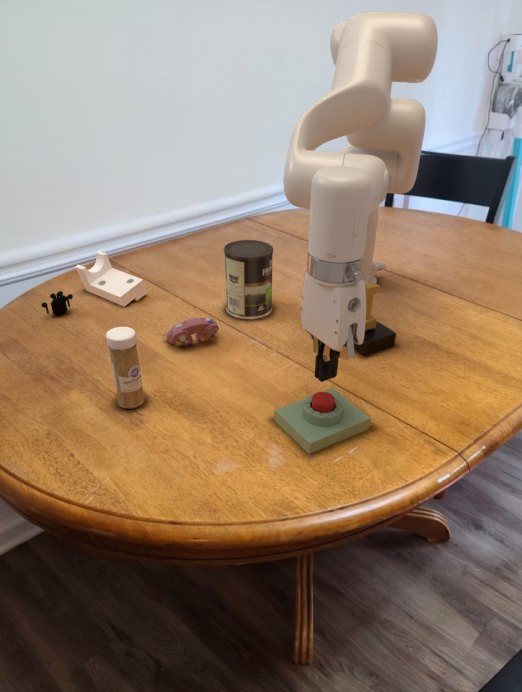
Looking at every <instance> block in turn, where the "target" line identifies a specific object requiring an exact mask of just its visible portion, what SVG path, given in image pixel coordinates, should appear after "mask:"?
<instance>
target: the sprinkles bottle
mask: <svg viewBox="0 0 522 692" xmlns="http://www.w3.org/2000/svg"><path fill="white" fill-rule="evenodd" d="M105 338H106V345H107V347H108V350H109V356H110V364H111V371H112V376H113V380H114V386H115V387H114V388H115V390H116V395H117V403H118V406H119V407H121V408H123V409H127V410H128V409H137V408H139V407H140V406H142V405H143V404H144V403H145V400H146V399H145V395H144V388H143V378H142V371H141V366H140V360H139V354H138V347H137V343H138V340H137V339H138V338H137V333H136V330H135V329H133V328H132V327H130V326H117V327H113V328H110V329H108V331H107V332H106V333H105Z"/></svg>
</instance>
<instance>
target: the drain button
mask: <svg viewBox="0 0 522 692" xmlns="http://www.w3.org/2000/svg"><path fill="white" fill-rule="evenodd" d="M312 395H313V394H312ZM334 404H335V397H334V396H333V395H332V394H330V393H328V392H324V391H318V392H315V393H314V395H313V397H312V409H313V410H314V411H317V412H320V413H329V412H332V411H333V409H334Z"/></svg>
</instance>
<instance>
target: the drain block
mask: <svg viewBox="0 0 522 692" xmlns="http://www.w3.org/2000/svg"><path fill="white" fill-rule="evenodd" d="M323 392H328V393H330V394H332V395H333V396H334V397H335V404H334V409H333V411H332V412H329V413H320V412H317V411H314V410H313V409H312V397H313V395H314V394H315V393H314V394H311V395H308V396H305V398H303V399H300V400H297V401H295V402H291V403H288V404H287V405H284V406H281V407H278V408H276V409H274V416H273V417H274V418H273V419H274V422H275V423H276V424H278V425H279V427H280V428H281V429H283V430H284V432H286V433H287V434H288V435H289V436H290V437H291V438H292V439H293V440H294V441H295V443H297V444H298V445H299V446H300V447H301V448H302V449H303V450H304V451H305V452H306V453H308V454H309V455H311V454H314V453H316V452H318V451H320V450H323V449H325V448H327V447H330V446H332V445H335V444H337V443H339V442H341V441H345V440H346V439H349V438H351V437H353V436H356V435H358V434H360V433H362V432H365V431H367V430H369V429H370V425H371V419H372V418H371V417H370V416H369V415H367V414H366V413H365V412H363V410H361V409H360V408H358V407H357V406H356V405H355V404H353V403H352V402H351V401H350V400H348V399H347V398H346V397H344V395H342V394H341V393H340V392H338V391H337V390H336V389H335V388H331V389H327V390H324V391H323Z"/></svg>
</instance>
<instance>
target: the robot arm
mask: <svg viewBox="0 0 522 692" xmlns="http://www.w3.org/2000/svg"><path fill="white" fill-rule="evenodd" d="M438 37H439V35H438V29H437V25H436V23H435V20H434V19H433V18H432V17H431V16H429V15H428V14H426V13H420V12H404V11H403V12H402V11H374V10H371V11H364V12H360V13H357V14H355V15H353V16H352V17H350V18H349V19H346V20H342V21H340V22H338V23H337V24H336V25H334V27H333V29H332V31H331V33H330V37H329V39H330V40H329V47H330V55H331V59H332V62H333V64H334V66H335V67H334V73H333V77H332V78H333V79H332V83H331V90H330V91H328V92H327V93H325V94H324V95H322V97H320V98H319V99H318V100H316V101H315V102H314V103H313V104H312V105H310V107H309V108H307V110H306V111H305V112H304V113H303V114H302V115H301V116H300V117H299V119H298V121H296V124H295V125H294V127H293V130H292V133H291V136H290V140H289V146H288V150H287V155H286V159H285V165H284V170H283V182H282V184H283V192H284V195H285V198H286V200H287V201H288V203H290V204H291V205H292V206H294V207H296V208H300V209H309V221H308V222H309V223H308V225H309V226H308V240H307V241H308V245H307V259H306V260H307V262H306V263H307V264H306V271H305V274H304V278H303V284H302V292H301V299H300V300H301V302H300V324H301V326H302V327H303V328H304V330H305V331H306V333H308V334H309V337H310V338H311V340H312V343H313V345H312V346H313V347H312V349H313V353H314V354H315V360H314V361H315V363H314V374H313V375H314V378H316V379H317V380H318V381H319V382H321V383H323V382H326V381H328V380H332V379H334V378H336V377H337V376H338V370H339V369H338V368H339V359H342V360H345V361H348V360H351V359H354V358H355V356H356V355H355V350H354V343H355V344H358V345H360V344H362V343H363V340H364V334H365V322H366V292H365V283H367V282H371V281H372V282H374V283H376V284H377V281H378V279H377V277H376V275H375V274H377V273H378V272H380V271H384V270H386V269H387V264H386V262H385V261H380V262H377V263H376V261H375V260H374V255H375V254H374V253H375V245H376V238H377V230H378V222H379V206H380V205H381V203H383V202H384V201H385V199H386V197H387V194H397V195H399V194H401V195H402V194H407V193H409V192H410V191H411V190H412V189H413V188H414V185H415V183H416V181H417V180H416V179H417V178H418V171H419V166H420V160H421V154H422V148H423V142H424V137H425V130H426V121H427V120H426V119H427V118H426V109H425V106H424V105H423V104H422V103H421V102H420V101H418V100H416V99H412V98H399V97H391V94H392V86H393V83H407V84H419V83H423V82H425V80H427V78H429V76H430V75H431V73H432V71H433V69H434V66H435V62H436V59H437V58H436V57H437V53H438V44H439V43H438V42H439V38H438ZM342 137H346V140H347V142H348V143H349V144H347V145H346V146H344V147H342V148H341V150H340V151H330V150H329V151H328V150H317V148H319V147H321V146H323V145H324V144H326V143H328V142H331V141H333V140H336V139H339V138H342Z"/></svg>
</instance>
